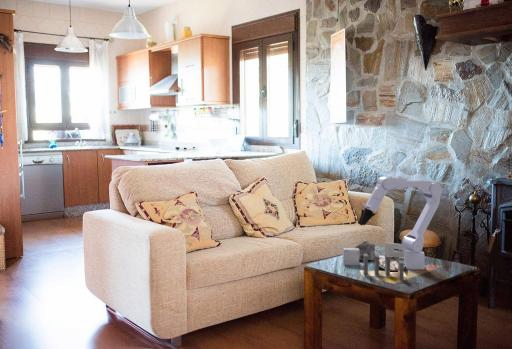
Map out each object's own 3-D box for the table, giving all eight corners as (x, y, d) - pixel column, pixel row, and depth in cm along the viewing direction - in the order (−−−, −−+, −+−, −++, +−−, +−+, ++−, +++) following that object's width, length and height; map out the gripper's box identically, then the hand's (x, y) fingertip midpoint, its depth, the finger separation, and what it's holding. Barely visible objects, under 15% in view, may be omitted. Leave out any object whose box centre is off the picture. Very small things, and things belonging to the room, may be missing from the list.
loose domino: (401, 279, 240) (401, 260, 239) (403, 282, 235) (403, 263, 234) (397, 279, 240) (398, 260, 240) (399, 282, 235) (400, 263, 235)
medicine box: (358, 265, 265) (358, 248, 264) (359, 267, 261) (359, 250, 260) (342, 264, 266) (342, 247, 265) (343, 267, 262) (343, 249, 261)
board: (403, 273, 250) (403, 271, 250) (407, 279, 241) (407, 277, 241) (359, 272, 252) (359, 270, 252) (361, 277, 243) (361, 275, 243)
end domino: (366, 272, 248) (367, 253, 247) (367, 275, 243) (368, 256, 242) (363, 272, 248) (363, 253, 247) (364, 275, 243) (364, 256, 243)
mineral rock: (348, 261, 273) (348, 242, 272) (352, 256, 283) (352, 237, 282) (373, 263, 268) (374, 244, 267) (376, 258, 278) (377, 239, 277)
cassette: (408, 258, 278) (408, 244, 277) (407, 259, 276) (407, 245, 275) (385, 256, 283) (385, 242, 282) (384, 257, 281) (384, 242, 281)
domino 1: (377, 272, 248) (377, 254, 247) (378, 275, 243) (379, 256, 242) (373, 272, 248) (374, 253, 247) (375, 275, 243) (375, 256, 242)
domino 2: (388, 273, 247) (388, 254, 246) (389, 276, 242) (390, 256, 241) (384, 273, 247) (385, 254, 246) (386, 276, 242) (386, 256, 241)
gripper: (365, 196, 256) (351, 220, 255) (370, 194, 241) (355, 219, 240) (378, 203, 255) (364, 228, 254) (384, 201, 240) (369, 227, 239)
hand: (361, 224), depth 247 cm, fingers open, 7 cm apart
